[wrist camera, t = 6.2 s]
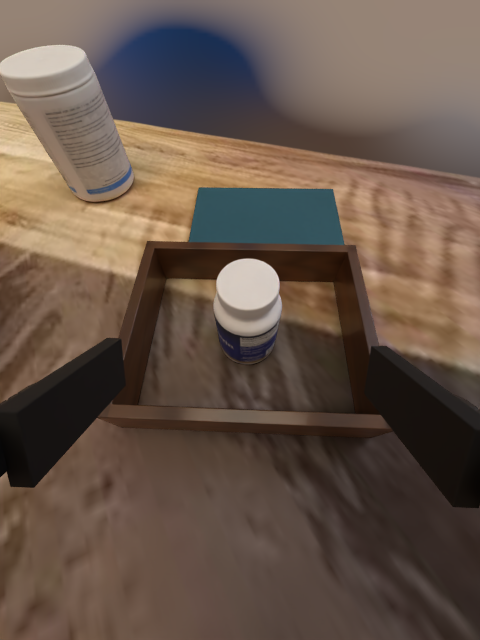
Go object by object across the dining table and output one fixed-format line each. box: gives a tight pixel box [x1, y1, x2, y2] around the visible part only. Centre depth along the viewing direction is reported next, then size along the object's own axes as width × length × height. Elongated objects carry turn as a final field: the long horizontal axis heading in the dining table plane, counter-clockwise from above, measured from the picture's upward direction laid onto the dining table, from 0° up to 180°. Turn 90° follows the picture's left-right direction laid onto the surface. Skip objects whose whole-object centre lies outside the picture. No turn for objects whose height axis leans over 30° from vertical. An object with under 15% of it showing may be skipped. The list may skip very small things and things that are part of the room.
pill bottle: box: [213, 259, 282, 364], centre depth 24 cm, size 6×6×10 cm
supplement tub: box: [0, 45, 134, 202], centre depth 36 cm, size 10×10×15 cm
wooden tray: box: [97, 241, 393, 438], centre depth 26 cm, size 22×18×5 cm
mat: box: [189, 188, 344, 245], centre depth 37 cm, size 20×12×1 cm, turn 88°
